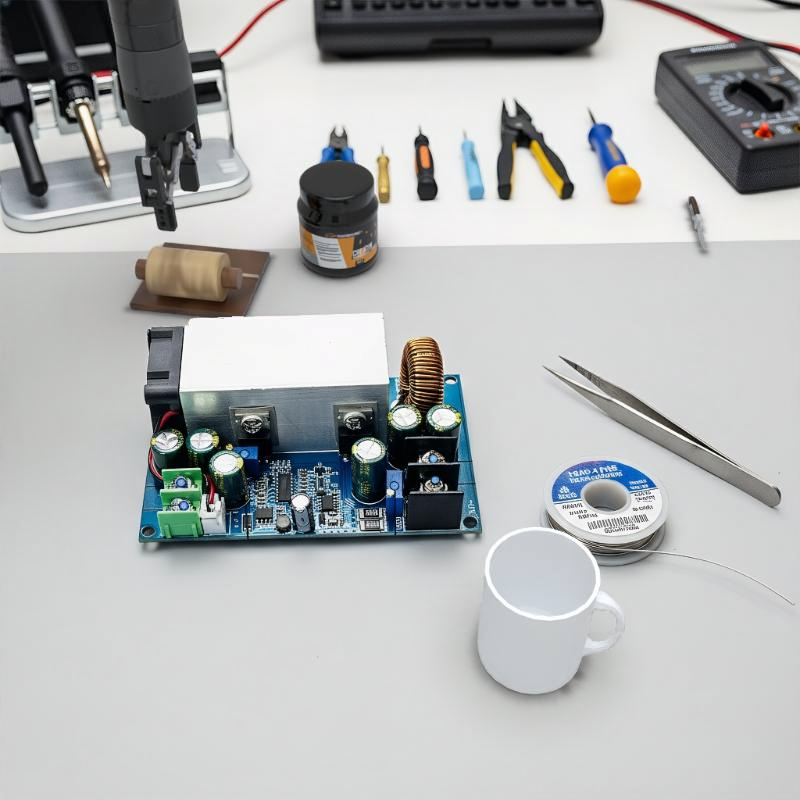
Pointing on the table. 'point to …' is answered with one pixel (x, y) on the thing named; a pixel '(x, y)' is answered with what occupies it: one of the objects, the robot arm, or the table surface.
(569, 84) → the table surface
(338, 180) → the supplement container
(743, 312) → the table surface
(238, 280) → the rolling pin
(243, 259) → the pastry board
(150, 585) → the table surface
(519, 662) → the mug
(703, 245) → the pocket knife
